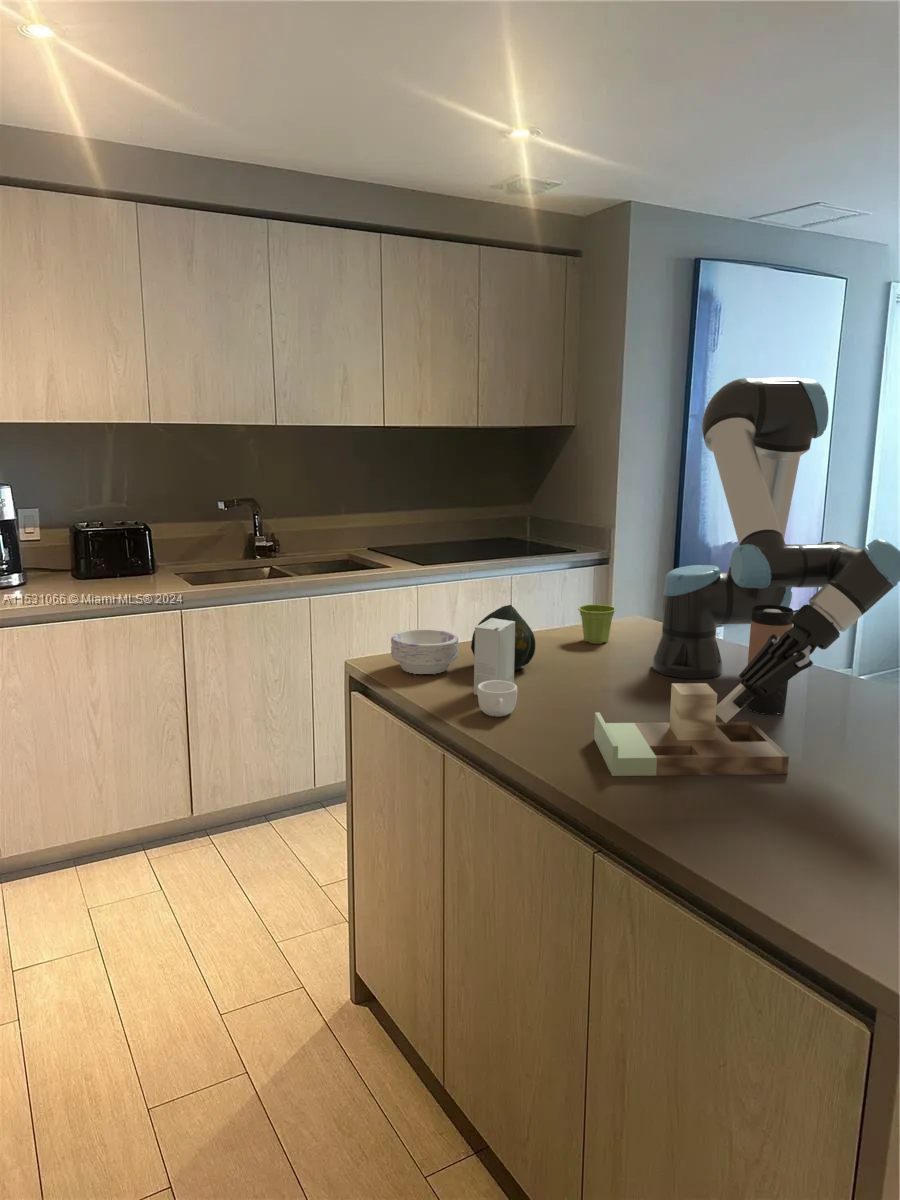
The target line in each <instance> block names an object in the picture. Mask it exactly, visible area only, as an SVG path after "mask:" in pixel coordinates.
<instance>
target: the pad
mask: <svg viewBox="0 0 900 1200" xmlns="http://www.w3.org/2000/svg"><path fill="white" fill-rule="evenodd" d="M635 723H636V722H605V720H604V718H603V716H602V715H601V712H598V711H596V712H594V731H593V732H594V735H593V736H594V737H593V740H594V741H595V744H596V746H597V748H598V749H599V752H600V754H601V756H602V758H603V760H604V762H605V764H606V766H607V769H608V771H609V773H610V774H611V776H612V777H625V776H626V777H628V776H629V777H634V776H637V777H638V776H641V777H642V776H646V777H648V776H650V777H651V776H656V777H657V775H656V766H657V757H656V756H655V754H654V752H653V751H652V749H651V748H650V746H649V745H648V743H647V742H646V740H645V739H644V737H643V736H642V734H641V732H640V731H639V729H638V728H637V726H636V725H635Z"/></svg>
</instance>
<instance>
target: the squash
mask: <svg viewBox="0 0 900 1200" xmlns="http://www.w3.org/2000/svg"><path fill="white" fill-rule="evenodd" d="M512 605H513V604H512ZM512 605H511V604H508V605H503V606H501V607H499V608H498V609H496V610H493V611H492V612H490V613H489V614H487V616H485V617H483V619H481V621H479V623H478V624H477V625H476V626H478V625H480V624H482V623H483V622H485V621H487V620H488V619H490V618H495V619H501V620H509V621H515V658H514V672H515V671H518V670H520V669H521V667H524V666H526V665H528V664H529V663H530V662H531V661H532V659H533V658H534V656H535V652H536V637H535V634H534V633H533V630H532V629H531V627H530V626H529V625H528V623H527V622H526V620H525V619H524V618H523V617H522V616H521V614H520V613H519V612H518V610H516V608H515V607H514V606H512ZM470 649H471V651H472V654H473V656H474V655H475V630H474V631H473V633H472V638H471V644H470Z"/></svg>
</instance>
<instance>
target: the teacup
mask: <svg viewBox="0 0 900 1200" xmlns="http://www.w3.org/2000/svg"><path fill="white" fill-rule="evenodd" d="M477 693H478V695H477V701H478V706H479V709H480V710H481V711H482V712H483V713H484V714H486V715H487V716H490V717H494V716H495V717H496V718H497V717H499V718H500V717H505V716H508V715H509V714H511V713H512V712H513V711H514V709H515V708H516V705H517V700H518V686H517V684H515V682H514V683H511V682H508V681H501V680H492V681H485V682H482V683H480V684H479V685H478V687H477Z"/></svg>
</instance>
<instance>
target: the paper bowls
mask: <svg viewBox="0 0 900 1200" xmlns="http://www.w3.org/2000/svg"><path fill="white" fill-rule="evenodd" d="M390 642H391V647H390V649H391V651H390V653H391V654H390V655H391V658H392V660H393V661H395V662H398V663H399V665H400V667H401V669H402V670H403V671H404V672H406V673H408V672H409V673H408V674H411V673H413V674H412V675H416V674H433V675H437V674H436V673H439V674H442V673H444V672H445V671H447V670H448V668H449V666H450V664H451V663H454V662H456V660H458V658H459V637H458V636H457V634H455V633H453V632H450V631H446V630H441V629H440V630H439V629H431V628H429V629H427V628H426V629H423V628H422V629H421V628H420V629H407V630H402V631H398V632H396V633H393V634H392V636H391V638H390ZM441 672H442V673H441Z"/></svg>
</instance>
